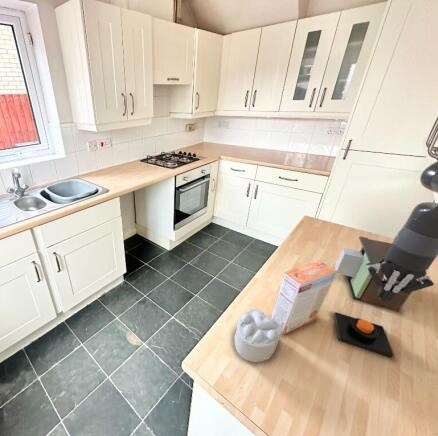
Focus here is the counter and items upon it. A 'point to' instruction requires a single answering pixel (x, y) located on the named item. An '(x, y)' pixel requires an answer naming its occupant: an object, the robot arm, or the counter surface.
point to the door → (354, 269)
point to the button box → (362, 335)
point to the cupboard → (374, 255)
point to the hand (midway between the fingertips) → (382, 298)
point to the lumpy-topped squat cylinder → (257, 336)
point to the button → (365, 326)
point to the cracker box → (302, 295)
